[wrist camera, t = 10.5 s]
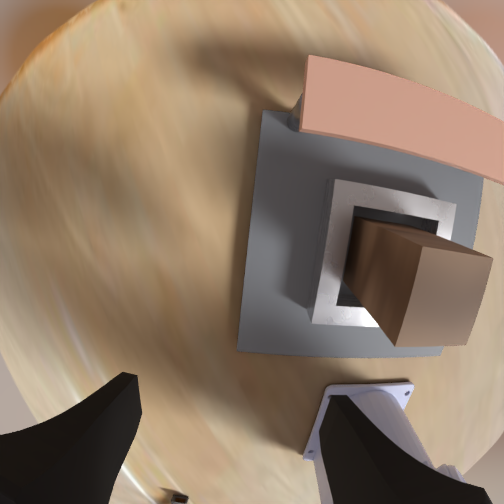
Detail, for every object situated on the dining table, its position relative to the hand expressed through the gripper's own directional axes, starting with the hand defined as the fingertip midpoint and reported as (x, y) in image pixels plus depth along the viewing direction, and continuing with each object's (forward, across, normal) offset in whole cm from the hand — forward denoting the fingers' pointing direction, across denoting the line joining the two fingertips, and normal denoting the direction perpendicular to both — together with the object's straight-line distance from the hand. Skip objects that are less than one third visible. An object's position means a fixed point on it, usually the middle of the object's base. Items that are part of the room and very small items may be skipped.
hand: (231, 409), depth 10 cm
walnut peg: (+9, -8, -5) cm, 13 cm away
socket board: (+10, -8, -4) cm, 14 cm away
